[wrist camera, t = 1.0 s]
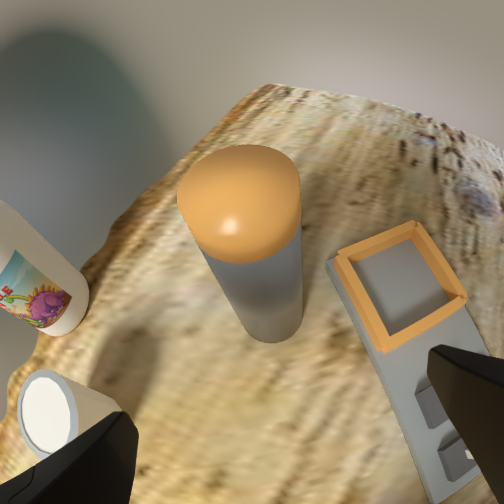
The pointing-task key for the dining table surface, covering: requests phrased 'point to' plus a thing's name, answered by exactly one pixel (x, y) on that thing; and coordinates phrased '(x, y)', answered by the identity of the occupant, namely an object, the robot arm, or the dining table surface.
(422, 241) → the breaker panel
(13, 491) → the robot arm
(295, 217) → the grey orange cylinder
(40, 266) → the milk bottle
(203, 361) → the dining table surface
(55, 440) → the white tapered cup
